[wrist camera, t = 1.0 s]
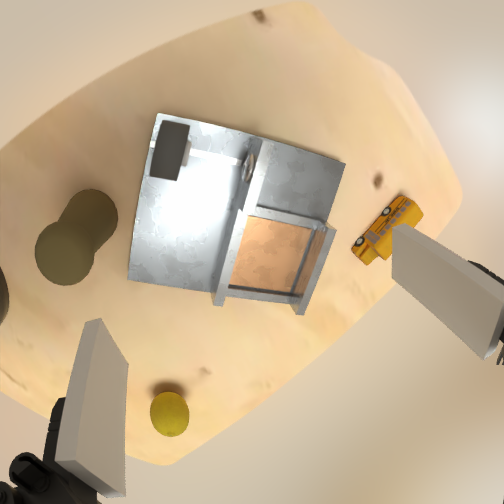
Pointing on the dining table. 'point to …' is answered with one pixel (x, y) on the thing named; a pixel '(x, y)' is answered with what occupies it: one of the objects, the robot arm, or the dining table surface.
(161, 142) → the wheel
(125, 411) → the robot arm
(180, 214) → the plate
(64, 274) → the olive brown pawn
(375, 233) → the toy bus
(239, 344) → the dining table surface
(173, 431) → the lemon
